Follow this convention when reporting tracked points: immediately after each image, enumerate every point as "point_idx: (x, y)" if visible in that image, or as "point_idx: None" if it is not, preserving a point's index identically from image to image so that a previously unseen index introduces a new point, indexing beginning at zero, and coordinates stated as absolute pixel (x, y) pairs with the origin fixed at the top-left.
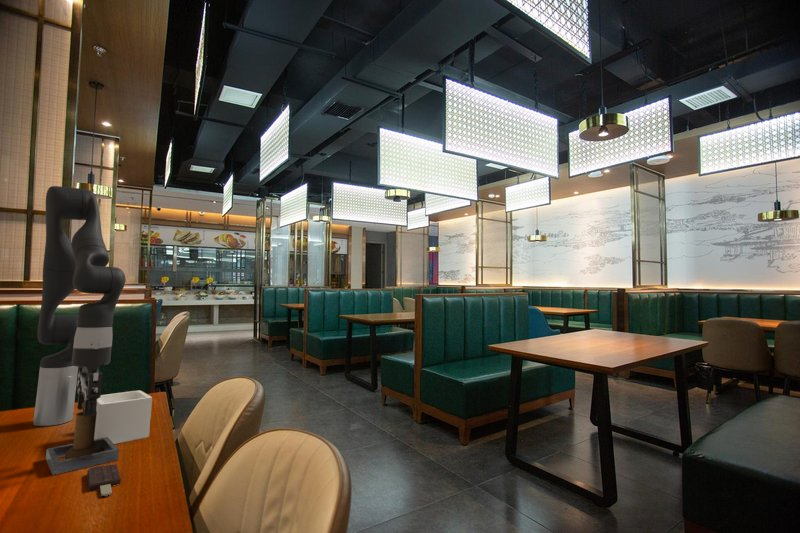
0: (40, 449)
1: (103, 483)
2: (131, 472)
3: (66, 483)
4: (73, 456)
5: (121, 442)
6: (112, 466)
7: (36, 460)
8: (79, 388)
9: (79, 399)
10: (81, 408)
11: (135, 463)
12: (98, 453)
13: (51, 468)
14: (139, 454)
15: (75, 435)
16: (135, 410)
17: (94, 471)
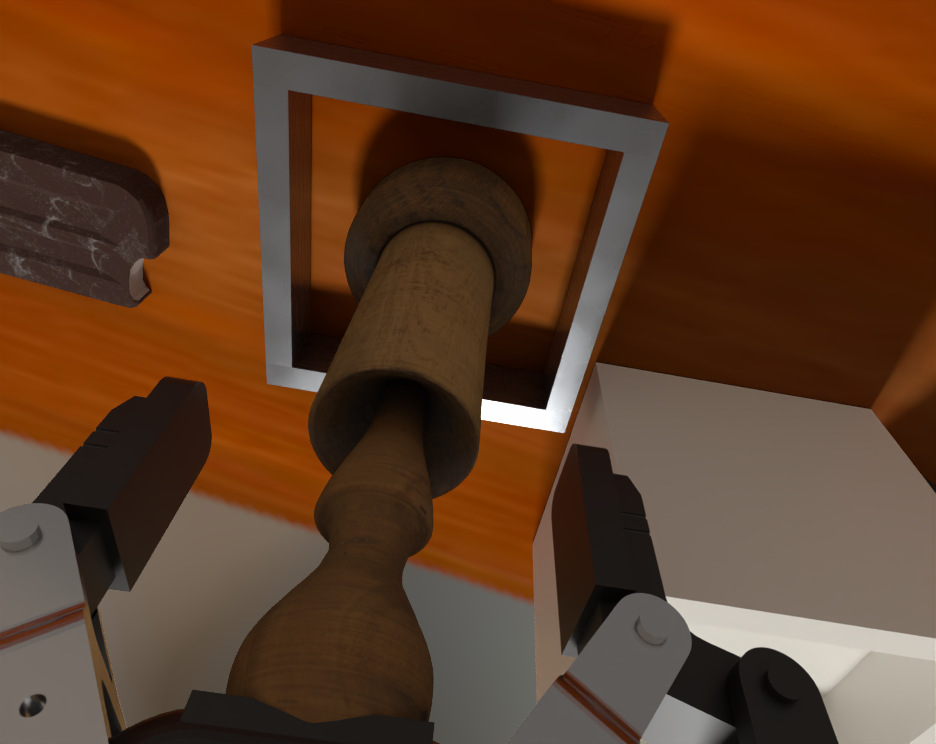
0: (922, 149)
1: None
2: (58, 320)
3: (75, 49)
4: (371, 196)
5: (563, 456)
6: (95, 281)
7: (693, 54)
8: (596, 675)
9: (588, 533)
10: (564, 465)
11: (179, 375)
12: (271, 297)
13: (343, 50)
14: (301, 431)
15: (406, 270)
16: (560, 648)
17: (66, 195)
